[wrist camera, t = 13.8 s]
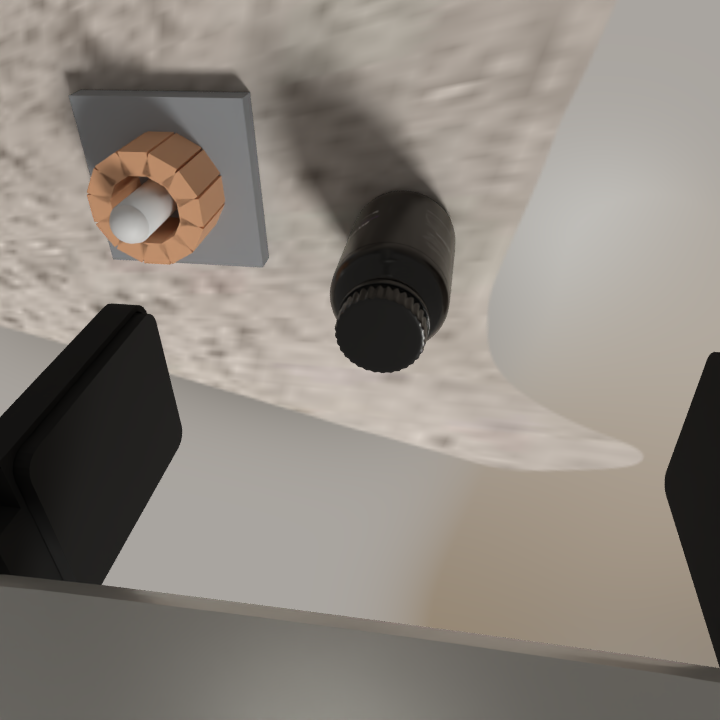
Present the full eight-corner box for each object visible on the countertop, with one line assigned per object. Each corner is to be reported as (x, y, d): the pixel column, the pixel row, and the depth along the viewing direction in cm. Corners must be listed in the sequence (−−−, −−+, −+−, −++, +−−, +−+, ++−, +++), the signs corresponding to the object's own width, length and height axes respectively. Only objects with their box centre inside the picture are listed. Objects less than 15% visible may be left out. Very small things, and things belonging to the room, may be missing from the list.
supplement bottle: (351, 186, 41) (310, 273, 31) (458, 188, 40) (450, 279, 30) (355, 281, 45) (320, 384, 35) (453, 285, 44) (444, 393, 34)
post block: (81, 89, 40) (-3, 127, 33) (249, 92, 38) (198, 133, 31) (122, 249, 46) (60, 310, 39) (268, 257, 45) (230, 321, 38)
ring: (107, 130, 39) (74, 150, 36) (215, 132, 38) (190, 153, 35) (133, 234, 44) (105, 260, 40) (230, 239, 43) (210, 266, 39)
